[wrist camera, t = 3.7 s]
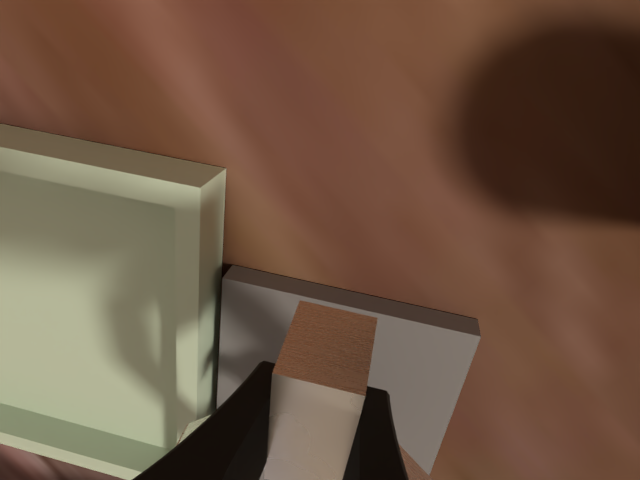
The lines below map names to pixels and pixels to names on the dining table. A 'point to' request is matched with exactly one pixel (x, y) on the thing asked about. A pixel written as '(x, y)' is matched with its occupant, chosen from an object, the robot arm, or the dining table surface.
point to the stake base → (387, 356)
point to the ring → (319, 395)
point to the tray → (106, 299)
